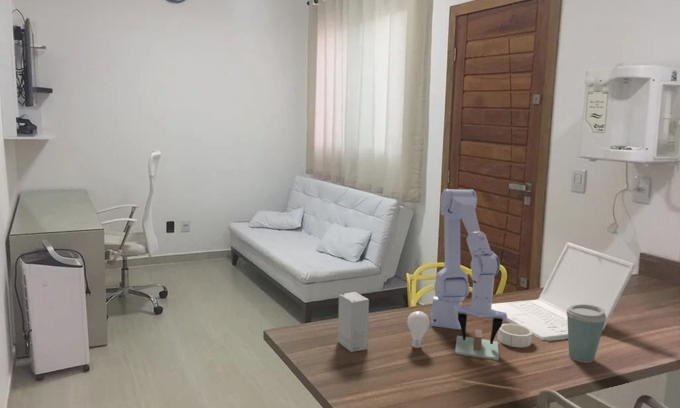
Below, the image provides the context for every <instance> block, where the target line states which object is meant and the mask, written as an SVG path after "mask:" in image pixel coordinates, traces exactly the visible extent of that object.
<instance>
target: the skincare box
mask: <svg viewBox="0 0 680 408" xmlns="http://www.w3.org/2000/svg"><path fill="white" fill-rule="evenodd" d="M369 306H370V299H368V298H367V297H366V296H363V295H361V294H359V292H356V291H352V292H346V293H340V294H338V314H337V315H338V319H337V320H338V325H337V327H338V328H337V329H338V330H337V342H338V343H339V344H340V345H341V346H343V348H345V349H346V350H348V351H349V352H350V353H354V352H361V351H366V350H368V348H369V317H370V316H369V312H370V311H369V309H370V307H369Z"/></svg>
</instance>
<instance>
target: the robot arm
mask: <svg viewBox="0 0 680 408" xmlns="http://www.w3.org/2000/svg"><path fill="white" fill-rule="evenodd" d="M439 198H440V202H439V204H440V205H439V207H440V208H439V211H440V215H442V216H443V217H444V218H443V219H444V220H443V221H444V223H443V225H444V226H443V227H444V228H443V229H444V232H443V233H444V240H443V241H444V243H443V244H444V245H443V246H444V249H443V252H444V267H443V268H442V269H440V270H439V271H438V272H437V273H436V274H435V281H434V293H435V295H434V296H432V297H433V298H432V306H431V313H430V326H431V327H432V326H433V327H438V328H439V327H440V328H445V329H446V328H447V329H453V330H461V333H462V336H463V340H465V338H466V337H467V336H466V335H467V332H466V331H467V318H468V317H467V316H469V317H477V318H481V319H483V318H484V319H491V320H492V323H491V333H490V336H489V337H490V339H489V340H490V344H493V341H495V338H496V335H497V334H498V330H499V329H500V327H501V326H502V324H503V322H507V321H506V320H507V313H505V312H500V311H496V310H491V306H492V304H493V295H494V293H493V292H494V285H495V284H494V283H495V276H496V275H498V273H499V271H500V269H501V268H500V267H501V262H500V259H499V258H500V257H498V255H497V254H496V253H495V252H494V251H492V250H491V247H490V244H489V241H488V239H487V238H488V237H487V236H486V233H484V232H483V231H481V230H480V229H481V228H480V225H479V221H478V217H477V212H476V208H477V203H478V197H477V193H476V191H475V190H474V189H471V188H470V189H449V188H444V190H443V191H442V193H441V194H440V197H439ZM461 221H462V223H463V226H464V227H465V230H466V232H467V236H466V240H465V241H466V243H467V244H466V245H467V247H468V250H469V253H470V256H471V261H470V269H471V270H470V271H471V279H472V290H471V298H470V299H471V302H470V306H463V301H464V300H465V298H466V297H468V295H469V293H470V284H469V279H468V278H469V277H468V273H466V272H465V271H464V270H462V268H461Z"/></svg>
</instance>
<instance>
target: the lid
mask: <svg viewBox="0 0 680 408" xmlns="http://www.w3.org/2000/svg"><path fill="white" fill-rule="evenodd" d="M455 340H456V342H455V348H454V350H455V351H454V354H455V355H460V354H461V355H460V356H462V355H463V356H467V355H468V356H469V357H474V356H475V358H480V357H482V358H483V359H487V358H488V360H494V359H495V361H500V354H499V353H500V351H499V340H498V341H497V340H494V341H493V344H490V339H484V338H483V330H482V329H479V328H478V329H476V328H475V329H474V336H473V337H469V336H466V338H465V340H463V335H456V339H455Z"/></svg>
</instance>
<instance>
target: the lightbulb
mask: <svg viewBox="0 0 680 408" xmlns="http://www.w3.org/2000/svg"><path fill="white" fill-rule="evenodd" d="M406 320H407V321H406V323H407V327H408V329H409V331H410V333H411V338H412V339H411V340H412V341H411V346H412V348H415V349H420V348H422V340H423V338H424V335H425V333H426V331H428V329H429V328H430V325H431V320H430V317H429V316H428V314H427V313H426V312H424V311H421V310H416V311H413V312H411V313H410V314H409V315H408V317H407V319H406Z"/></svg>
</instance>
